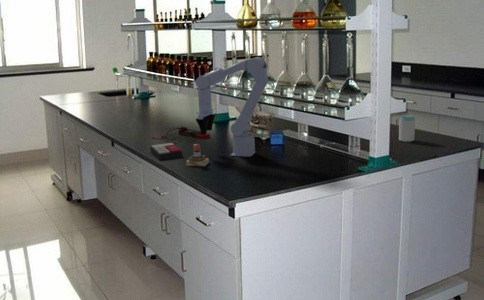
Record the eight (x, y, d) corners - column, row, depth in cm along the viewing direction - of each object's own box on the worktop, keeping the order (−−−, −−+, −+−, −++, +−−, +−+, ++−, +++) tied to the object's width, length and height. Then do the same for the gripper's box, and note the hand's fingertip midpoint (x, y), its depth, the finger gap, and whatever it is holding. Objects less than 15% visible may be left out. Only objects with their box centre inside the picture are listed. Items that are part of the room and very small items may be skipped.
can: (408, 143, 260) (409, 117, 257) (395, 141, 266) (396, 116, 263) (417, 140, 264) (418, 115, 262) (404, 138, 270) (405, 113, 267)
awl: (201, 158, 239) (201, 143, 238) (199, 160, 237) (198, 145, 235) (195, 158, 240) (194, 143, 239) (193, 160, 237) (192, 145, 236)
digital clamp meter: (184, 123, 306) (213, 129, 288) (185, 131, 307) (213, 138, 289) (148, 130, 291) (175, 137, 273) (148, 139, 293) (176, 146, 274)
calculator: (158, 152, 247) (149, 144, 260) (159, 162, 249) (150, 153, 262) (182, 149, 251) (172, 141, 265) (183, 158, 253) (173, 150, 266)
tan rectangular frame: (208, 162, 240) (208, 155, 240) (204, 166, 235) (204, 158, 234) (191, 162, 243) (190, 154, 242) (186, 165, 237) (186, 158, 237)
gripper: (202, 99, 259) (203, 128, 262) (190, 104, 245) (192, 135, 249) (216, 99, 257) (218, 128, 260) (206, 105, 243) (207, 135, 247)
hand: (206, 132), depth 254 cm, fingers open, 7 cm apart
